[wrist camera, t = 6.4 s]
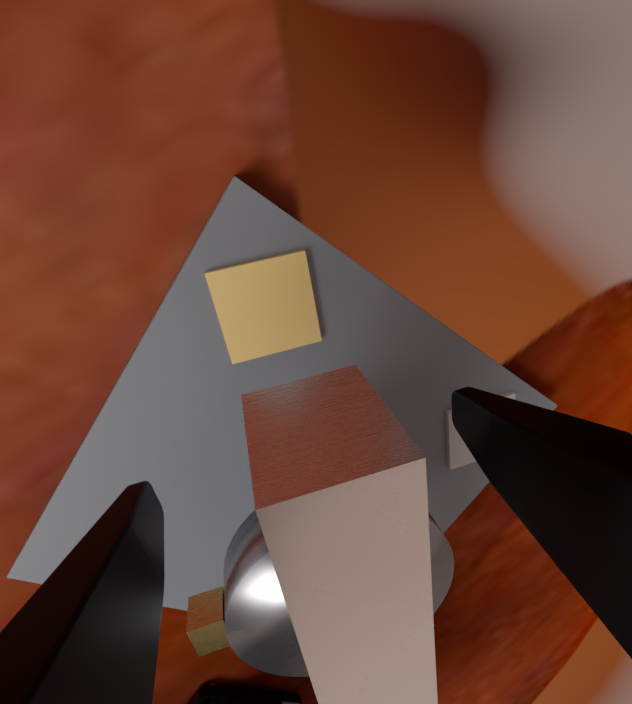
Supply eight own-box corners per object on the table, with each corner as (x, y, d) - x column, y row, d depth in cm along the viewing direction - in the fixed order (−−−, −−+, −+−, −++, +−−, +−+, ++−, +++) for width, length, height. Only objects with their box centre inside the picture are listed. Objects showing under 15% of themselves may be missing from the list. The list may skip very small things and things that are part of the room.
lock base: (343, 625, 21) (367, 709, 18) (16, 558, 15) (-42, 671, 11) (543, 396, 18) (621, 447, 14) (233, 175, 11) (241, 175, 8)
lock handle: (434, 645, 16) (507, 801, 12) (251, 715, 15) (265, 910, 11) (418, 315, 10) (563, 414, 6) (94, 396, 9) (-11, 592, 5)
